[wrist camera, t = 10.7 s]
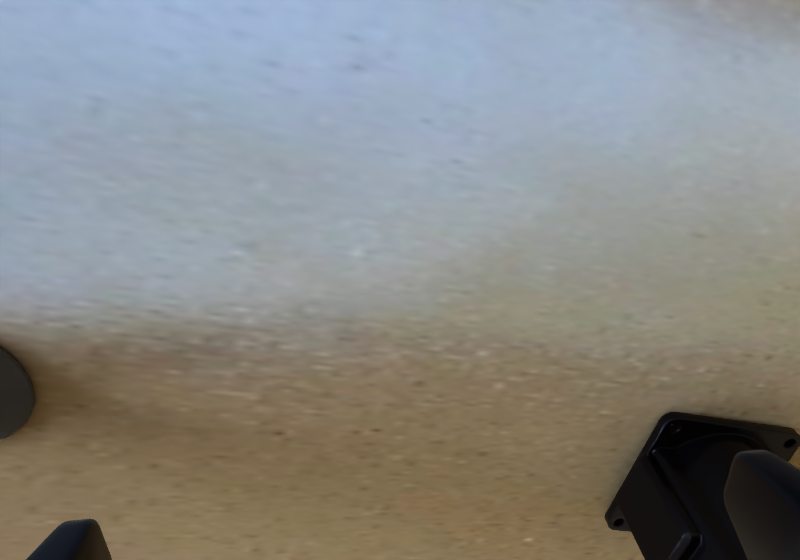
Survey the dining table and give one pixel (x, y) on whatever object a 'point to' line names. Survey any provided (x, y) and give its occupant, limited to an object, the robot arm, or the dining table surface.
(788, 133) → the dining table surface
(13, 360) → the sundae
